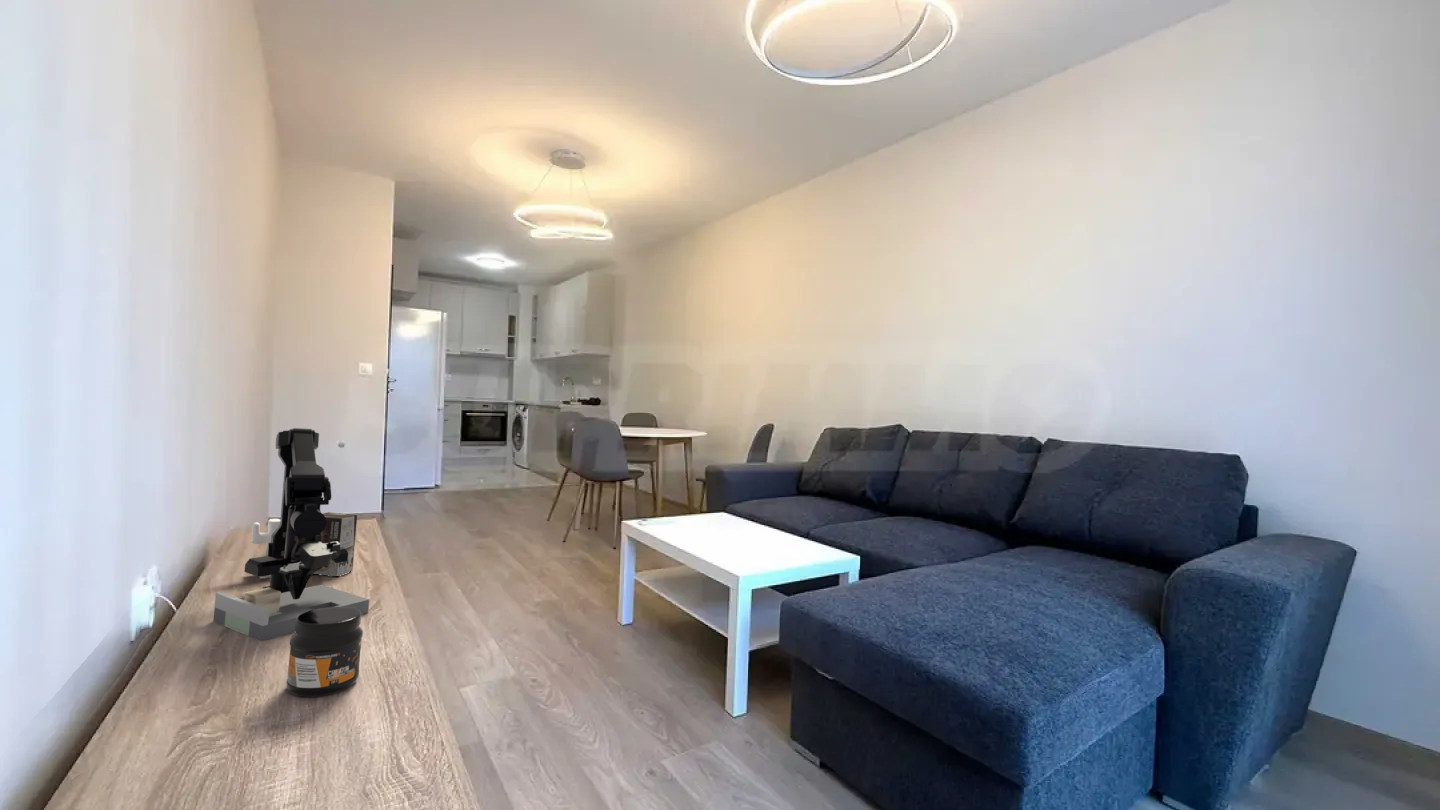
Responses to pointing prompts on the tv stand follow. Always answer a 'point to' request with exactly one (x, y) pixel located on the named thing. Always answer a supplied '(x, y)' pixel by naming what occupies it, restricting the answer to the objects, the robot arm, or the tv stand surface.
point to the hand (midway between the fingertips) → (296, 598)
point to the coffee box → (344, 533)
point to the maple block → (264, 598)
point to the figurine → (264, 534)
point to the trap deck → (280, 611)
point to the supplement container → (324, 651)
